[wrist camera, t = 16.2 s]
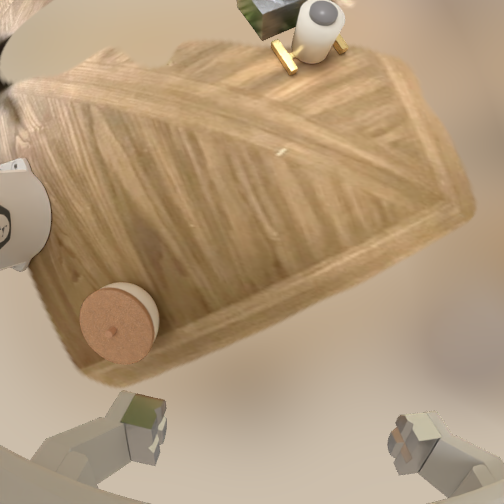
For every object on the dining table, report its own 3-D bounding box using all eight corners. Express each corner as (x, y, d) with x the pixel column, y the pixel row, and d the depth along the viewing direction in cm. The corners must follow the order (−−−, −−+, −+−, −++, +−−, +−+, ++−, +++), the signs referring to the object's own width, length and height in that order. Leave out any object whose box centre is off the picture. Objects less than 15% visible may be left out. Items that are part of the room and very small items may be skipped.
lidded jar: (115, 342, 47) (90, 372, 38) (94, 279, 45) (62, 299, 36) (176, 335, 46) (159, 368, 37) (157, 266, 44) (133, 287, 35)
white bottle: (289, 60, 37) (299, 24, 27) (293, 30, 36) (302, -10, 26) (326, 66, 37) (346, 33, 27) (328, 36, 36) (347, -1, 26)
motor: (286, 77, 38) (293, 52, 29) (237, 7, 36) (232, -27, 27) (364, 45, 37) (386, 18, 28) (314, -21, 34) (323, -55, 26)
